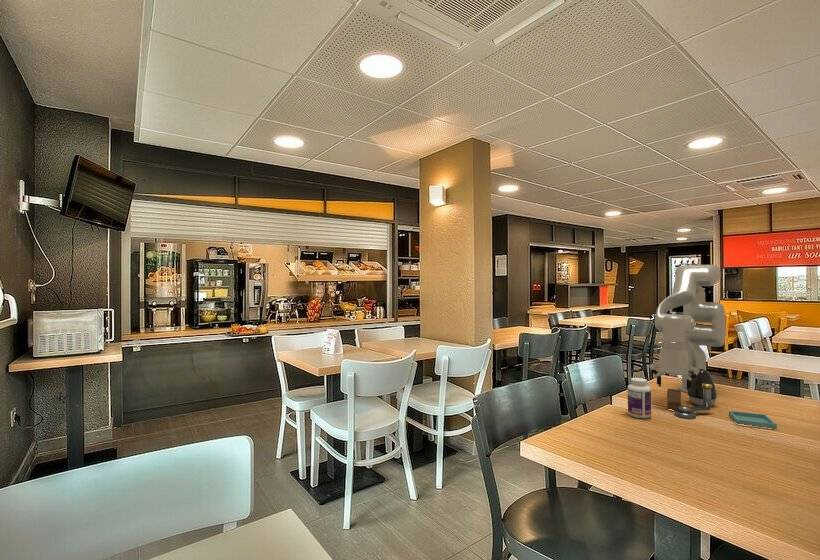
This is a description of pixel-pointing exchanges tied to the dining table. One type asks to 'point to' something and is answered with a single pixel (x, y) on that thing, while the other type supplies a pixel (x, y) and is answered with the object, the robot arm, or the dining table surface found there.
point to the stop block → (673, 399)
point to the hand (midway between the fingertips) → (673, 387)
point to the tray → (752, 419)
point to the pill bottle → (639, 398)
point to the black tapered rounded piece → (697, 389)
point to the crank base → (684, 414)
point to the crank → (706, 401)
